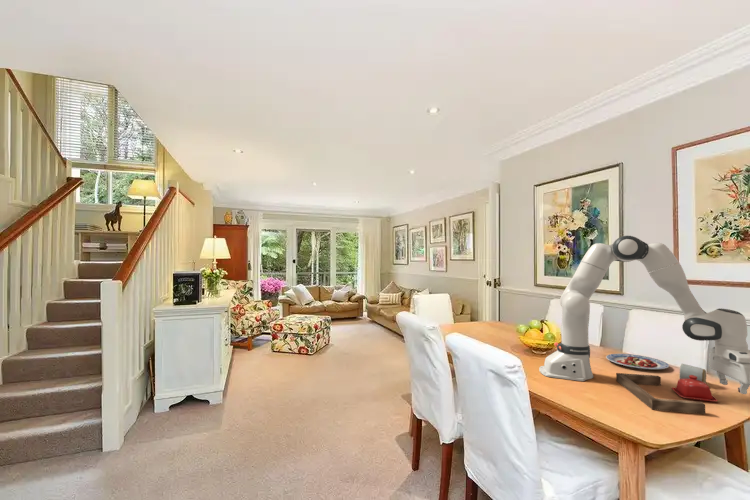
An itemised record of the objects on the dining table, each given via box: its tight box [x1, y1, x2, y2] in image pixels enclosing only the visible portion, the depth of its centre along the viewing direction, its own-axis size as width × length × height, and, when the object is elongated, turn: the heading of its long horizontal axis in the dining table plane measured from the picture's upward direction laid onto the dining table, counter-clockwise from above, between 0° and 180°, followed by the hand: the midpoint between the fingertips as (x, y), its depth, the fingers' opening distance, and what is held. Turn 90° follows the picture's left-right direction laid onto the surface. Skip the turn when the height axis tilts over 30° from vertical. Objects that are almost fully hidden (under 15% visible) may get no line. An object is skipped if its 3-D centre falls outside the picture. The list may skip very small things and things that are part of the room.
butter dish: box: [671, 375, 718, 403], centre depth 136 cm, size 12×12×8 cm
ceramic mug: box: [678, 363, 707, 384], centre depth 152 cm, size 11×8×8 cm
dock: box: [615, 372, 706, 415], centre depth 137 cm, size 16×30×4 cm, turn 166°
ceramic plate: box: [605, 353, 670, 371], centre depth 177 cm, size 26×26×3 cm
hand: (732, 388), depth 131 cm, fingers open, 8 cm apart
